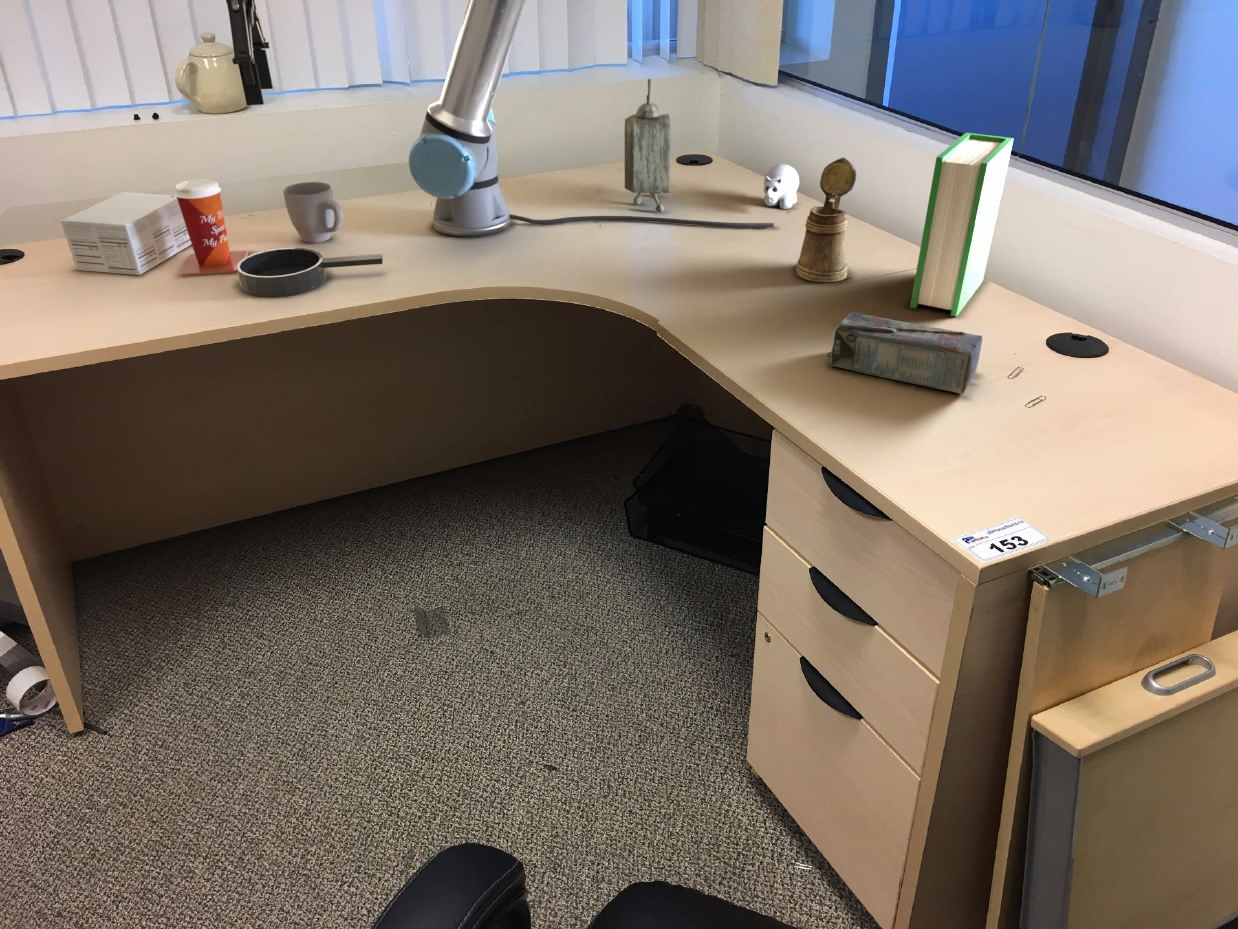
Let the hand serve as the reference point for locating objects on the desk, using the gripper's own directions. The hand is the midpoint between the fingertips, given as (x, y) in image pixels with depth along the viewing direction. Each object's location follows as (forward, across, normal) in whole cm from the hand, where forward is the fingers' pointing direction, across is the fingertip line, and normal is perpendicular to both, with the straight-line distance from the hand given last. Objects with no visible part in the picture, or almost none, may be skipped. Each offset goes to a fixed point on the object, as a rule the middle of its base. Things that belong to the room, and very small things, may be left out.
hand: (260, 96), depth 165 cm
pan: (+27, +20, +1) cm, 33 cm away
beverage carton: (+27, +73, +91) cm, 120 cm away
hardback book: (+27, +48, +111) cm, 124 cm away
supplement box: (+27, +2, -27) cm, 38 cm away
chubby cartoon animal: (+27, -2, +98) cm, 102 cm away
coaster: (+27, +9, -12) cm, 31 cm away
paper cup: (+26, +9, -12) cm, 30 cm away
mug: (+27, -1, +6) cm, 28 cm away
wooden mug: (+27, +33, +95) cm, 104 cm away
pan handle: (+24, +20, +13) cm, 34 cm away
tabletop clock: (+27, -10, +72) cm, 77 cm away
